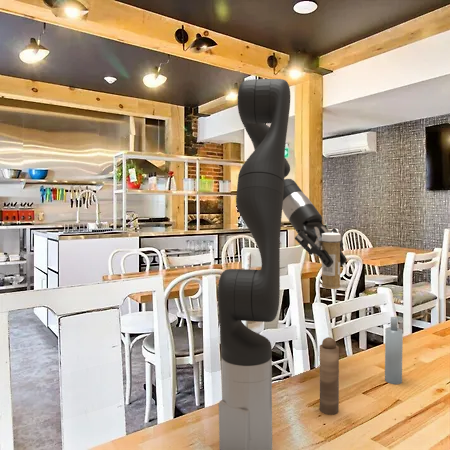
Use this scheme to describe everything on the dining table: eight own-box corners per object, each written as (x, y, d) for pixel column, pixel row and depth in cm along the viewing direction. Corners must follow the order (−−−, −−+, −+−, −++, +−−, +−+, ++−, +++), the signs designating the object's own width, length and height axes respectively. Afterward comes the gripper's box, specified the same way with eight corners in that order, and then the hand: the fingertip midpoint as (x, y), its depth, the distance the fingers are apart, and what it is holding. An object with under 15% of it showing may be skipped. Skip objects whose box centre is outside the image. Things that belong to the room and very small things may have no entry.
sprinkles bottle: (344, 287, 105) (344, 233, 104) (331, 290, 102) (331, 234, 101) (330, 284, 108) (330, 232, 108) (317, 286, 106) (317, 233, 105)
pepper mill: (333, 416, 90) (333, 342, 89) (316, 410, 92) (316, 338, 91) (341, 409, 93) (341, 337, 92) (324, 403, 95) (324, 333, 94)
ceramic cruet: (399, 385, 104) (399, 321, 103) (382, 381, 106) (383, 318, 105) (404, 380, 107) (405, 317, 106) (387, 376, 109) (388, 314, 108)
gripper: (288, 203, 106) (326, 257, 97) (327, 202, 114) (365, 251, 105) (274, 223, 110) (308, 276, 102) (312, 221, 119) (347, 270, 110)
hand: (337, 263), depth 103 cm, fingers closed on sprinkles bottle, 4 cm apart
